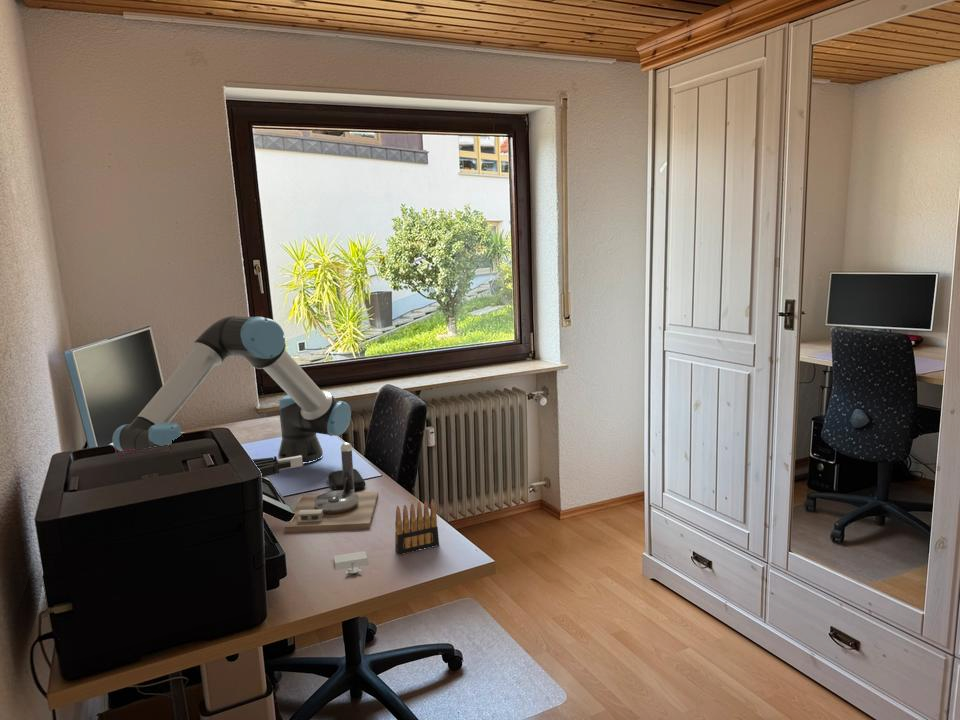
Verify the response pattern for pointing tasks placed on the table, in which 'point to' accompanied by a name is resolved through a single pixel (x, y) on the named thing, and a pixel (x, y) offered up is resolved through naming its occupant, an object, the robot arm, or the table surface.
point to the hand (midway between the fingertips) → (301, 460)
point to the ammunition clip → (416, 529)
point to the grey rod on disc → (341, 498)
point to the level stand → (332, 515)
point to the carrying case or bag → (337, 480)
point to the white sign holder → (351, 561)
